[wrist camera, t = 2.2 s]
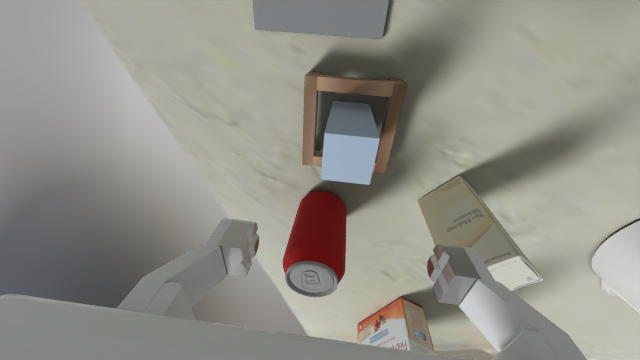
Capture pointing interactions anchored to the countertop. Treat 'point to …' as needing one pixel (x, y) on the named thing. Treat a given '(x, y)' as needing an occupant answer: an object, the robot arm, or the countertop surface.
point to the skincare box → (476, 232)
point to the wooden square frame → (352, 85)
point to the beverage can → (317, 245)
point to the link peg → (349, 143)
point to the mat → (323, 17)
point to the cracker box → (397, 328)
